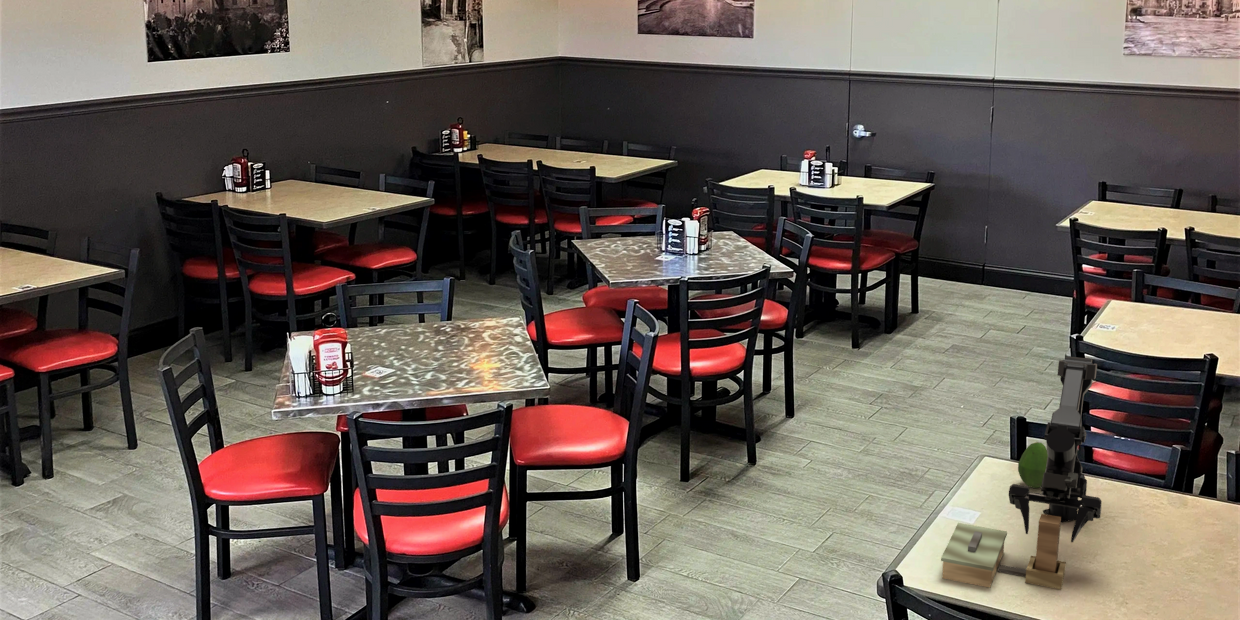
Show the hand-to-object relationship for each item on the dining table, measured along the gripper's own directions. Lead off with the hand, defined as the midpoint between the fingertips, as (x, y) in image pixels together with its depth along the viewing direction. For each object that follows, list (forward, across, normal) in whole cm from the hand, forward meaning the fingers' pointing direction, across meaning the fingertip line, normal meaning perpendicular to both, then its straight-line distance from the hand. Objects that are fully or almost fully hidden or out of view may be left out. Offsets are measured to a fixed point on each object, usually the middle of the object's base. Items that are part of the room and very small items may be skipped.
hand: (1049, 537), depth 244 cm
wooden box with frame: (+7, -8, +6) cm, 12 cm away
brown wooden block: (+7, 0, +6) cm, 9 cm away
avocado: (-28, -9, +40) cm, 50 cm away
